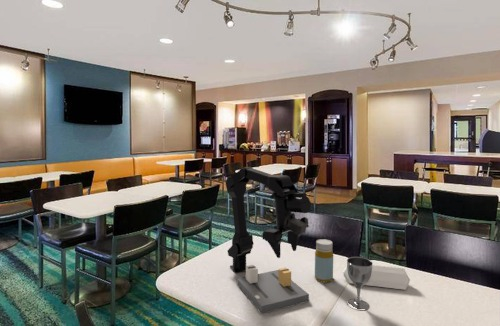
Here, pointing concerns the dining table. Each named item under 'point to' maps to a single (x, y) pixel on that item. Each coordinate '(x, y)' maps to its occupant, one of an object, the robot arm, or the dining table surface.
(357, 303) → the wine glass
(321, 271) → the bottle
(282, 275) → the block
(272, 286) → the console
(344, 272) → the crystal
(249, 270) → the fader
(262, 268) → the dining table surface
